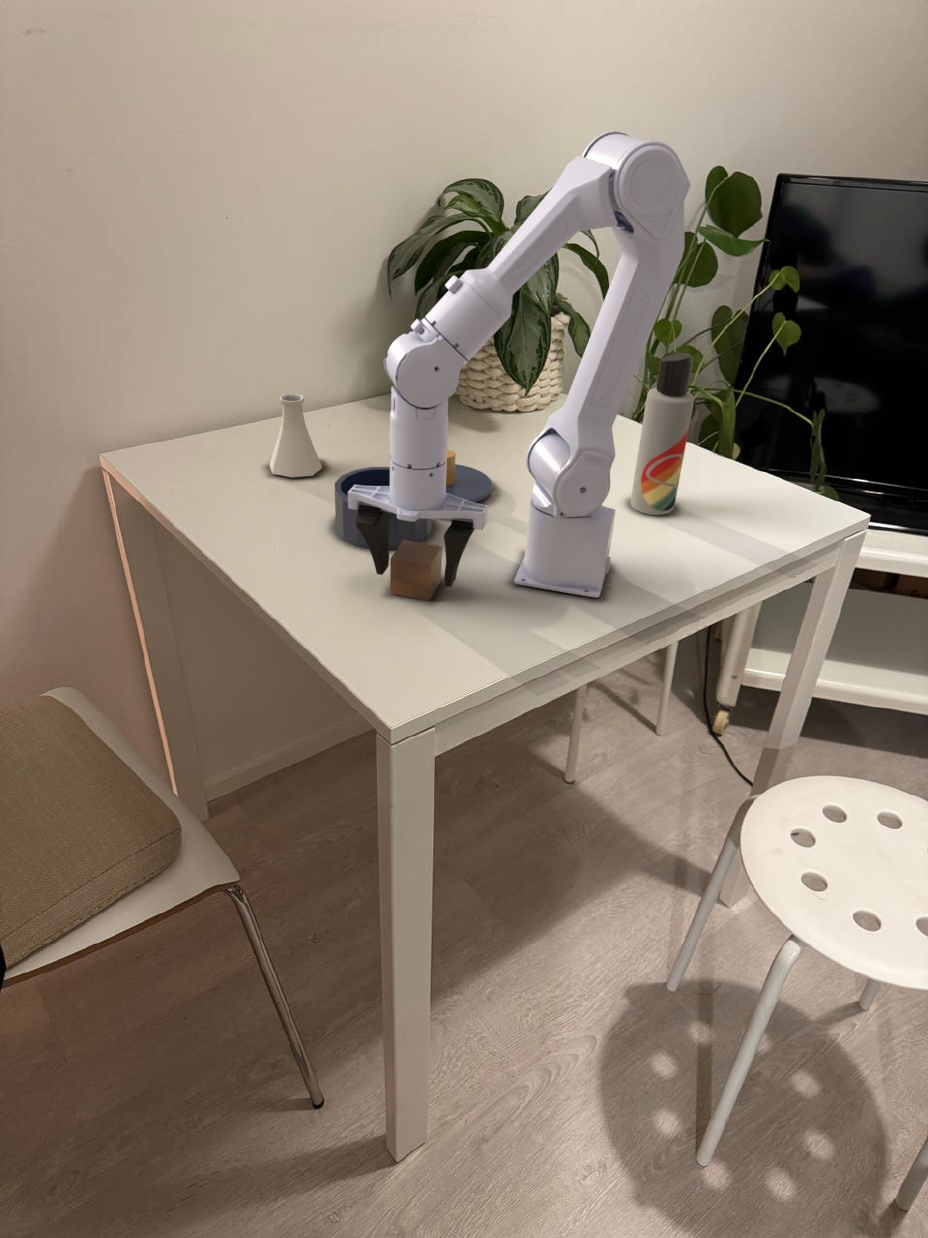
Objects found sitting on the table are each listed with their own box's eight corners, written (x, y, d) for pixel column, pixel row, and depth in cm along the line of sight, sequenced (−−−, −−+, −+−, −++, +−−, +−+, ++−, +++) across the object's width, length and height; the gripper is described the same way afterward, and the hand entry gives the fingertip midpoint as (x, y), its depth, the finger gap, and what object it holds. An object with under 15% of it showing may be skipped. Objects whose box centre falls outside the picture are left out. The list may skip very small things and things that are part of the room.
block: (440, 581, 100) (442, 546, 98) (429, 601, 96) (430, 564, 94) (402, 574, 101) (403, 539, 98) (390, 594, 97) (390, 558, 95)
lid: (501, 478, 124) (503, 443, 121) (478, 516, 114) (481, 479, 111) (413, 465, 127) (413, 430, 124) (383, 501, 116) (383, 464, 114)
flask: (318, 480, 121) (315, 408, 115) (264, 477, 121) (258, 405, 115) (326, 459, 127) (323, 389, 122) (274, 456, 127) (269, 386, 121)
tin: (442, 514, 114) (444, 474, 111) (415, 556, 104) (415, 514, 102) (355, 500, 116) (355, 461, 113) (321, 540, 107) (319, 498, 104)
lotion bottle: (673, 518, 116) (702, 363, 105) (628, 512, 117) (653, 358, 106) (673, 500, 121) (701, 350, 110) (631, 494, 122) (654, 345, 111)
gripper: (335, 462, 89) (339, 582, 96) (479, 484, 86) (471, 606, 93) (360, 437, 94) (362, 552, 102) (495, 457, 92) (487, 574, 99)
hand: (416, 576), depth 98 cm, fingers open, 7 cm apart
